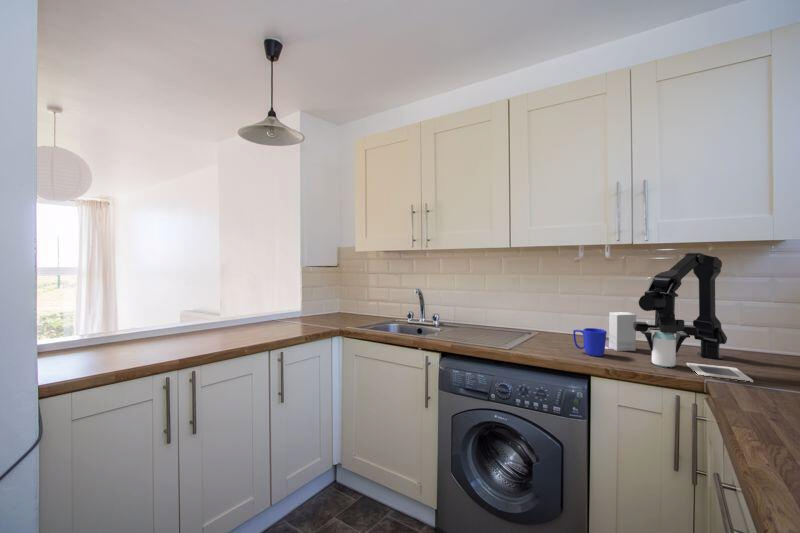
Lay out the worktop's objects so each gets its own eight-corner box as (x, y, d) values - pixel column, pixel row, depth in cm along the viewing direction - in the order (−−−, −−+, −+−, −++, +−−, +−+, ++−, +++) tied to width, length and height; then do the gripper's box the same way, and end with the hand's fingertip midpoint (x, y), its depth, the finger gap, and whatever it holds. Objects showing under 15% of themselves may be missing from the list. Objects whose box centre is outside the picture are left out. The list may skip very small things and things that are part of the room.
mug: (574, 349, 155) (575, 326, 154) (607, 353, 148) (607, 329, 148) (571, 353, 148) (571, 329, 148) (604, 358, 141) (605, 333, 141)
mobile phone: (606, 347, 156) (596, 339, 170) (606, 349, 156) (596, 341, 170) (625, 348, 154) (614, 340, 168) (625, 350, 154) (614, 342, 168)
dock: (686, 364, 134) (686, 362, 134) (735, 369, 128) (735, 367, 128) (698, 375, 122) (698, 373, 122) (753, 382, 116) (753, 380, 116)
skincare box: (627, 347, 158) (628, 311, 158) (636, 351, 152) (637, 314, 151) (607, 347, 158) (608, 311, 158) (616, 351, 152) (617, 314, 151)
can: (675, 369, 128) (676, 335, 128) (651, 365, 132) (651, 333, 132) (675, 364, 134) (676, 332, 133) (652, 361, 138) (652, 329, 138)
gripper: (638, 310, 129) (636, 354, 130) (704, 314, 121) (702, 360, 122) (633, 306, 139) (632, 346, 140) (694, 309, 131) (692, 352, 132)
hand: (663, 351), depth 133 cm, fingers closed on can, 7 cm apart
